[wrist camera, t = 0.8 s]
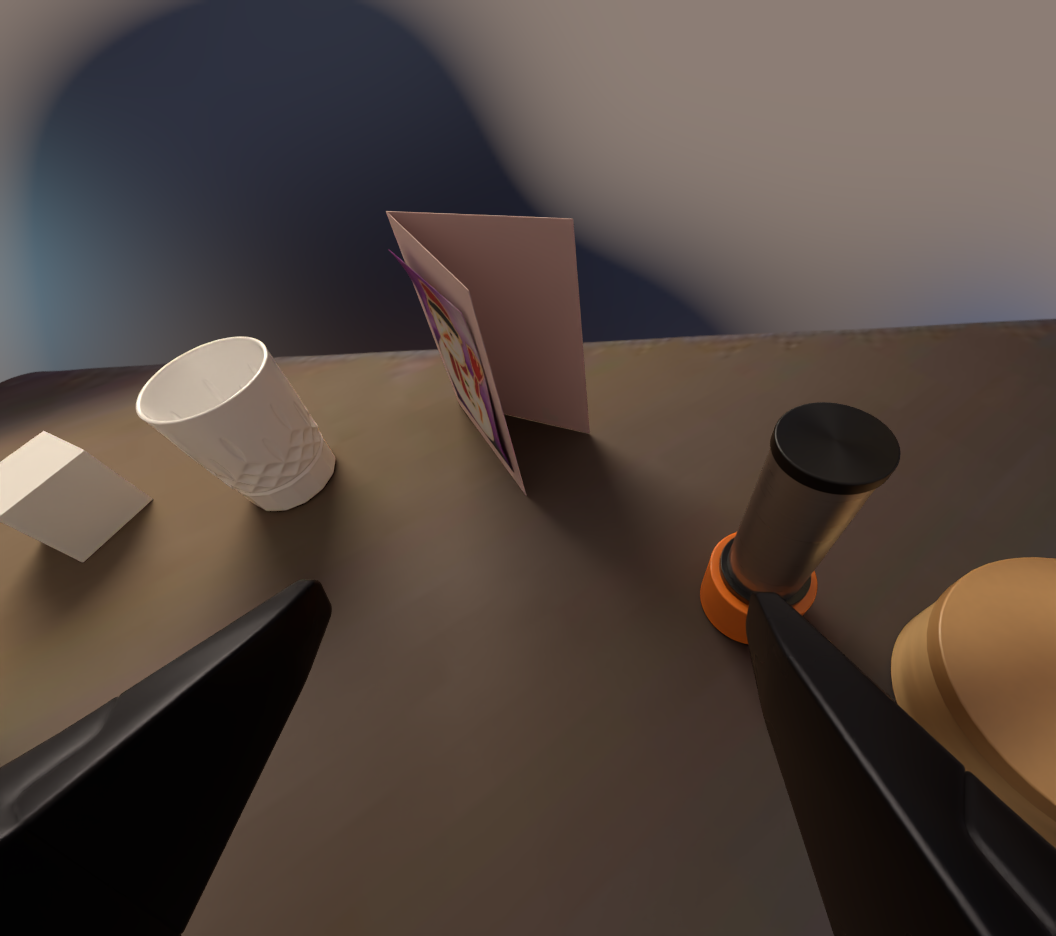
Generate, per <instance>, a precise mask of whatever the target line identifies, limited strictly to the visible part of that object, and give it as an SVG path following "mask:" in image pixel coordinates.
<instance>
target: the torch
mask: <svg viewBox="0 0 1056 936" xmlns="http://www.w3.org/2000/svg"><path fill="white" fill-rule="evenodd" d="M770 447H771V448H770V450H769V453H768V455H767V458H766V460H765V463H764V465H763V468H762V470H761V473H760V475H759V478H758V481H757V483H756V486H755V488H754V491H753V493H752V496H751V498H750V501H749V503H748V506H747V508H746V511H745V513H744V516H743V518H742V521H741V524H740V526H739V529H738V531H737V532H736V533H733V534H731V535H729V536H727V537H725V538H724V539H722V540H721V541H720V542H719V543H718V544H717V545H716V547H715V548H714V550H713V552H712V554H711V557H710V560H709V563H708V566H707V569H706V572H705V575H704V578H703V581H702V584H701V589H700V599H701V604H702V607H703V610H704V612H705V614H706V616H707V618H708V619H709V620H710V622H711V623H712V624H713V625H714V626H715V627H716V628H717V629H718V630H719V631H720V632H721V633H723V634H724V635H726V636H727V637H729V638H731V639H733V640H735V641H738V642H741V643H744V644H748V640H747V635H746V617H747V612H748V607H749V601H750V597H751V594H752V593H753V592H756V591H760V592H775V593H777V594H779V595H780V596H781V597H782V598H783V599H785V600H786V601H787V602H788V603H789V604H790V605H791V606H792V607H793V608H794V609H795V610H796V611H798V612H799V613H800V614H801V615H802V616H803V615H804V614H805V612H806V611H807V610H808V609H809V608H810V607H811V605H812V604H813V602H814V600H815V597H816V594H817V578H816V574H815V571H814V570H815V569H816V567H817V566H818V565H819V563H820V562H821V561H822V559H823V558H824V557H825V555H826V554H827V553H828V551H829V550H830V549H831V547H832V546H833V545H834V543H835V542H836V541H837V539H838V538H839V537H840V535H841V534H842V533H843V531H844V530H845V529H846V527H847V526H848V525H849V523H850V522H851V521H852V519H853V518H854V517H855V515H856V514H857V513H858V511H859V510H860V509H861V507H862V506H863V505H864V503H865V502H866V501H867V499H868V498H869V497H870V495H871V494H872V493H873V491H874V490H875V489H876V488H878V487H879V486H881V485H882V484H883V483H885V481H886V480H887V479H888V478H889V477H890V475H891V474H892V473H893V472H894V470H895V469H896V467H897V466H898V463H899V460H900V447H899V444H898V441H897V439H896V437H895V435H894V434H893V433H892V431H891V430H890V429H889V428H888V427H887V426H886V425H885V424H884V423H882V422H881V421H880V420H878V419H877V418H875V417H874V416H872V415H870V414H868V413H866V412H864V411H862V410H859V409H857V408H854V407H850V406H847V405H842V404H837V403H825V402H822V403H809V404H805V405H801V406H798V407H795V408H793V409H791V410H790V411H788V412H786V413H785V414H784V415H783V416H782V417H781V418H780V419H779V420H778V422H777V424H776V426H775V428H774V431H773V433H772V436H771V441H770Z"/></svg>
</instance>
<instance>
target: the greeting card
mask: <svg viewBox="0 0 1056 936" xmlns="http://www.w3.org/2000/svg"><path fill="white" fill-rule="evenodd" d="M386 213H387V216H388V218H389V221H390V224H391V226H392V229H393V231H394V234H395V237H396V239H397V242H398V244H399V247H400V250H401V252H402V255H403V258H404V260H405V263H406V264H405V263H404V262H403V261H402V260H401V259H399V258H398V257H397V256H396V255H395V254H394V253H393V252H392V251H390V250H389V251H390V252H391V253H392V254H393V255H394V256H395V257H396V258H397V260H398V261H399V263H400V264H401V265H402V266H403V268H404V269H405V270H406V271H407V273H408V275H409V277H410V278H411V280H412V281H413V284H414V287H415V289H416V292H417V294H418V297H419V300H420V302H421V305H422V308H423V310H424V313H425V316H426V318H427V321H428V324H429V326H430V329H431V331H432V334H433V337H434V339H435V342H436V345H437V347H438V350H439V353H440V355H441V358H442V361H443V363H444V366H445V368H446V371H447V374H448V376H449V379H450V382H451V384H452V387H453V390H454V392H455V395H456V397H457V400H458V403H459V404H460V406H461V407H462V409H463V410H464V411H465V413H466V414H467V415H468V417H469V418H470V420H471V421H472V422H473V424H474V425H475V426H476V428H477V429H478V431H479V432H480V433H481V435H482V436H483V437H484V439H485V440H486V442H487V443H488V444H489V446H490V447H491V448H492V450H493V451H494V452H495V454H496V455H497V457H498V458H499V459H500V461H501V462H502V463H503V465H504V466H505V468H506V469H507V470H508V472H509V473H510V474H511V476H512V477H513V479H514V480H515V481H516V483H517V484H518V485H519V487H520V488H521V490H522V491H523V492H524V494H525V495H526V492H525V488H524V484H523V481H522V477H521V474H520V470H519V467H518V463H517V460H516V456H515V452H514V449H513V445H512V442H511V438H510V435H509V431H508V427H507V424H506V420H505V417H504V414H507V415H511V416H515V417H520V418H524V419H528V420H533V421H537V422H541V423H546V424H550V425H554V426H559V427H563V428H567V429H572V430H576V431H580V432H585V433H589V434H590V431H589V418H588V405H587V392H586V379H585V366H584V353H583V341H582V328H581V316H580V302H579V289H578V276H577V263H576V250H575V237H574V224H573V219H570V218H568V219H567V218H545V217H519V216H495V215H469V214H443V213H419V212H394V211H386ZM526 496H527V495H526Z"/></svg>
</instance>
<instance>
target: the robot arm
mask: <svg viewBox="0 0 1056 936" xmlns="http://www.w3.org/2000/svg"><path fill="white" fill-rule="evenodd" d="M331 612H332V607H331V603H330V601H329V599H328V597H327V595H326V593H325V591H324V589H323V586H322V584H321V583H320V582H319V581H318V580H305V579H303V580H299V581H297V582H295V583H293V584H292V585H290V586H289V587H287V588H286V589H284V590H282V591H281V592H279V593H278V594H276V595H275V596H273V597H272V598H270V599H268V600H267V601H265V602H264V603H262V604H261V605H259V606H257V607H256V608H254V609H253V610H251V611H250V612H248V613H247V614H245V615H243V616H242V617H240V618H239V619H237V620H236V621H234V622H232V623H231V624H229V625H228V626H226V627H225V628H223V629H222V630H220V631H218V632H217V633H215V634H214V635H212V636H211V637H209V638H208V639H206V640H204V641H203V642H201V643H200V644H198V645H197V646H195V647H193V648H192V649H190V650H189V651H187V652H186V653H184V654H183V655H181V656H179V657H178V658H176V659H175V660H173V661H172V662H170V663H168V664H167V665H165V666H164V667H162V668H161V669H159V670H158V671H156V672H154V673H153V674H151V675H150V676H148V677H147V678H145V679H143V680H142V681H140V682H139V683H137V684H136V685H134V686H133V687H131V688H129V689H128V690H126V691H125V692H123V693H122V694H121V695H120V696H119V697H115V698H114V699H112V700H111V701H109V702H107V703H106V704H104V705H103V706H101V707H100V708H98V709H97V710H95V711H94V712H92V713H90V714H89V715H87V716H86V717H84V718H82V719H81V720H79V721H77V722H76V723H74V724H73V725H71V726H69V727H68V728H66V729H65V730H63V731H61V732H60V733H58V734H57V735H55V736H53V737H51V738H50V739H48V740H46V741H45V742H43V743H41V744H40V745H38V746H36V747H35V748H33V749H31V750H30V751H28V752H26V753H24V754H23V755H21V756H19V757H18V758H16V759H14V760H13V761H11V762H9V763H7V764H6V765H4V766H2V767H1V768H0V936H181V934H182V933H183V932H184V930H185V928H186V926H187V924H188V922H189V920H190V918H191V916H192V914H193V912H194V909H195V907H196V905H197V903H198V901H199V899H200V897H201V895H202V893H203V891H204V889H205V887H206V885H207V883H208V881H209V879H210V877H211V875H212V873H213V871H214V869H215V867H216V865H217V862H218V860H219V858H220V856H221V854H222V852H223V850H224V848H225V846H226V844H227V842H228V840H229V838H230V836H231V834H232V832H233V830H234V828H235V826H236V824H237V822H238V820H239V818H240V816H241V813H242V811H243V809H244V807H245V805H246V803H247V801H248V799H249V797H250V795H251V793H252V791H253V789H254V787H255V785H256V783H257V781H258V779H259V777H260V775H261V773H262V771H263V769H264V766H265V764H266V762H267V760H268V758H269V756H270V754H271V752H272V750H273V748H274V746H275V744H276V742H277V740H278V738H279V736H280V734H281V732H282V730H283V728H284V726H285V724H286V722H287V719H288V717H289V715H290V713H291V711H292V709H293V707H294V705H295V703H296V701H297V699H298V697H299V695H300V693H301V691H302V689H303V686H304V684H305V682H306V680H307V677H308V675H309V672H310V670H311V667H312V665H313V662H314V659H315V657H316V654H317V651H318V649H319V646H320V643H321V641H322V638H323V636H324V633H325V630H326V628H327V625H328V622H329V620H330V617H331ZM746 635H747V640H748V644H749V649H750V654H751V659H752V664H753V669H754V674H755V679H756V684H757V689H758V694H759V698H760V703H761V708H762V712H763V716H764V719H765V723H766V726H767V730H768V733H769V736H770V739H771V742H772V745H773V748H774V751H775V754H776V757H777V761H778V764H779V767H780V770H781V773H782V776H783V779H784V782H785V785H786V788H787V791H788V795H789V798H790V801H791V804H792V807H793V810H794V813H795V816H796V819H797V822H798V826H799V829H800V832H801V835H802V838H803V841H804V844H805V847H806V850H807V853H808V856H809V860H810V863H811V866H812V869H813V872H814V875H815V878H816V881H817V884H818V887H819V890H820V894H821V897H822V900H823V903H824V906H825V909H826V912H827V915H828V918H829V921H830V924H831V928H832V931H833V934H834V936H1056V848H1055V847H1054V846H1053V845H1051V844H1050V843H1049V842H1048V841H1047V840H1046V839H1044V838H1043V837H1042V836H1041V835H1040V834H1039V833H1038V832H1037V831H1035V830H1034V829H1033V828H1032V827H1031V826H1030V825H1029V824H1028V823H1027V822H1025V821H1024V820H1023V819H1022V818H1021V817H1020V816H1019V815H1018V814H1017V813H1015V812H1014V811H1013V810H1012V809H1011V808H1010V807H1009V806H1008V805H1006V804H1005V803H1004V802H1003V801H1002V800H1001V799H1000V798H999V797H998V796H997V795H995V794H994V793H993V792H992V791H991V790H990V789H989V788H988V787H987V786H986V785H985V784H984V783H982V782H981V781H980V780H979V779H978V778H977V777H976V776H975V775H974V774H973V773H972V772H970V771H965V767H964V765H963V764H962V763H961V762H959V761H958V760H957V759H956V758H955V757H954V756H953V755H952V754H951V753H950V752H949V751H948V750H947V749H945V748H944V747H943V746H942V745H941V744H940V743H939V742H938V741H937V740H936V739H935V738H934V737H932V736H931V735H930V734H929V733H928V732H927V731H926V730H925V729H924V728H923V727H922V726H921V725H920V724H918V723H917V722H916V721H915V720H914V719H913V718H912V717H911V716H910V715H909V714H908V713H907V712H906V711H904V710H903V709H902V708H901V707H900V706H899V705H898V704H897V703H896V702H895V701H894V700H893V699H891V698H890V697H889V696H888V695H887V694H886V693H885V692H884V691H883V690H882V689H881V688H880V687H879V686H877V685H876V684H875V683H874V682H873V681H872V680H871V679H870V678H869V677H868V676H867V675H866V674H864V673H863V672H862V671H861V670H860V669H859V668H858V667H857V666H856V665H855V664H854V663H853V662H852V661H850V660H849V659H848V658H847V657H846V656H845V655H844V654H843V653H842V652H841V651H840V650H839V649H837V648H836V647H835V646H834V645H833V644H832V643H831V642H830V641H829V640H828V639H827V638H826V637H825V636H823V635H822V634H821V633H820V632H819V631H818V630H817V629H816V628H815V627H814V626H813V625H812V624H810V623H809V622H808V621H807V620H806V619H805V618H804V617H803V616H802V615H801V614H800V613H799V612H798V611H796V610H795V609H794V608H793V607H792V606H791V605H790V604H789V603H788V602H787V601H786V600H785V599H783V598H782V597H781V596H780V595H779V594H777V593H775V592H760V591H756V592H753V593H752V594H751V597H750V601H749V607H748V612H747V617H746Z"/></svg>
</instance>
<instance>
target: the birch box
mask: <svg viewBox="0 0 1056 936" xmlns="http://www.w3.org/2000/svg"><path fill="white" fill-rule="evenodd" d="M891 677H892V685H893V690H894V694H895V698H896V701H897V704H898V705H899V706H900V707H901V708H902V709H903V710H904V711H906V712H907V713H908V714H909V715H910V716H911V717H912V718H913V719H914V720H915V721H916V722H917V723H918V724H920V725H921V726H922V727H923V728H924V729H925V730H926V731H927V732H928V733H929V734H930V735H931V736H932V737H934V738H935V739H936V740H937V741H938V742H939V743H940V744H941V745H942V746H943V747H944V748H945V749H947V750H948V751H949V752H950V753H951V754H952V755H953V756H954V757H955V758H956V759H957V760H958V761H959V762H961V763H962V764H963V765H964V767H965V771H970V772H972V773H973V774H974V775H975V776H976V777H977V778H978V779H979V780H980V781H981V782H982V783H984V784H985V785H986V786H987V787H988V788H989V789H990V790H991V791H992V792H993V793H994V794H995V795H997V796H998V797H999V798H1000V799H1001V800H1002V801H1003V802H1004V803H1005V804H1006V805H1008V806H1009V807H1010V808H1011V809H1012V810H1013V811H1014V812H1015V813H1017V814H1018V815H1019V816H1020V817H1021V818H1022V819H1023V820H1024V821H1025V822H1027V823H1028V824H1029V825H1030V826H1031V827H1032V828H1033V829H1034V830H1035V831H1037V832H1038V833H1039V834H1040V835H1041V836H1042V837H1043V838H1044V839H1046V840H1047V841H1048V842H1049V843H1050V844H1051V845H1053V846H1054V847H1055V848H1056V559H1053V558H1041V557H1032V558H1014V559H1006V560H1000V561H996V562H993V563H989V564H986V565H983V566H981V567H979V568H976V569H974V570H972V571H971V572H969V573H968V574H966V575H965V576H963V577H962V578H960V579H959V580H958V581H956V582H955V583H954V584H952V585H951V586H950V587H949V588H948V589H947V590H946V591H945V592H944V593H943V594H942V595H941V596H940V597H939V599H938V600H937V601H936V602H935V603H933V604H932V605H931V606H929V607H928V608H926V609H925V610H924V611H922V612H921V613H920V614H918V615H917V616H915V617H914V618H913V619H912V620H911V621H910V622H909V623H908V624H907V625H906V626H905V627H904V628H903V630H902V631H901V633H900V634H899V636H898V638H897V640H896V643H895V645H894V648H893V654H892V659H891Z"/></svg>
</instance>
